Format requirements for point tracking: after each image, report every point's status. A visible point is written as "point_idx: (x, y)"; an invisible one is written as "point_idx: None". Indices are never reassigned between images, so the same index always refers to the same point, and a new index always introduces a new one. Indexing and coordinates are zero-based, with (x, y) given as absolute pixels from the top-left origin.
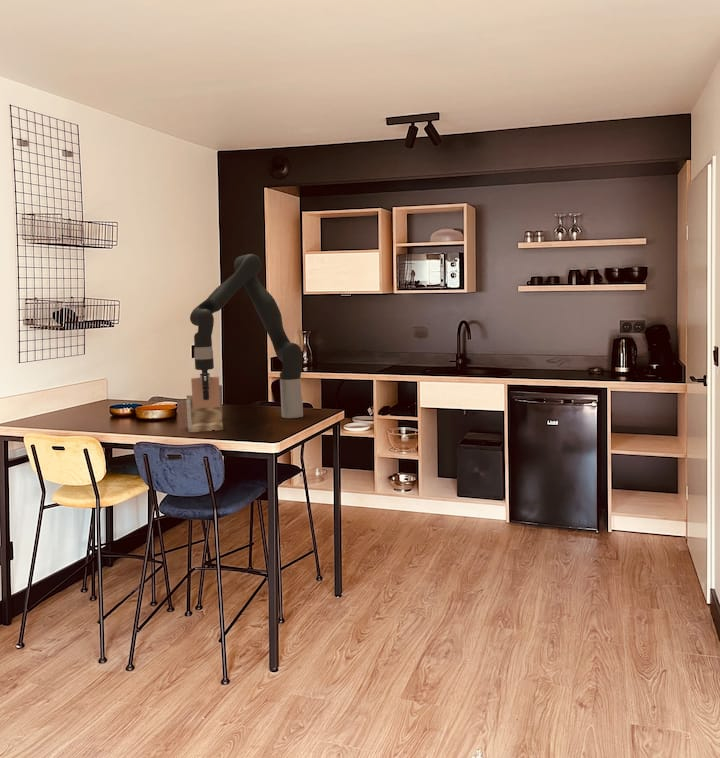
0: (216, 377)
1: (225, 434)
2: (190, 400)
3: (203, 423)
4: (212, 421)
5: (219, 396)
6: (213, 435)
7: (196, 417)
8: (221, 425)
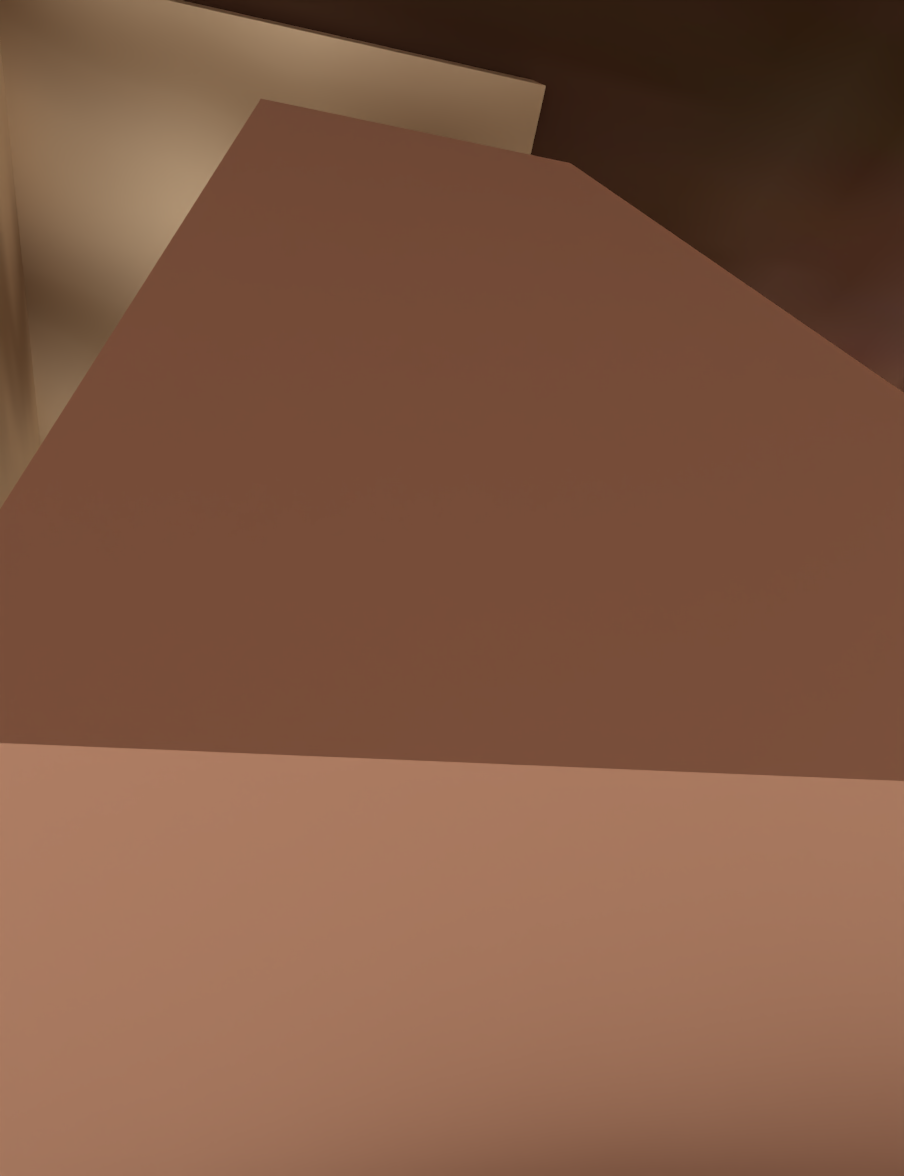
0: (860, 967)
1: (899, 133)
2: None
3: (94, 352)
4: (8, 182)
5: (659, 237)
6: (827, 313)
7: (10, 488)
8: (443, 89)
